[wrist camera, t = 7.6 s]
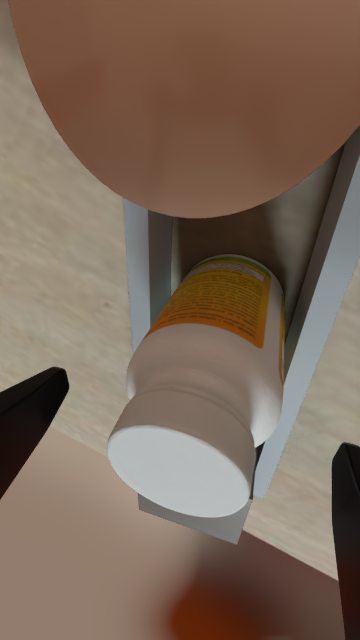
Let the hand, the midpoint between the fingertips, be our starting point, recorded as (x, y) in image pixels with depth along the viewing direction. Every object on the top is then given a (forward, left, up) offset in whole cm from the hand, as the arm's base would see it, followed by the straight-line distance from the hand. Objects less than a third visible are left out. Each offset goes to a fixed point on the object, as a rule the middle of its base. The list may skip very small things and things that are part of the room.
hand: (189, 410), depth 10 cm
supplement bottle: (0, 0, -8) cm, 8 cm away
